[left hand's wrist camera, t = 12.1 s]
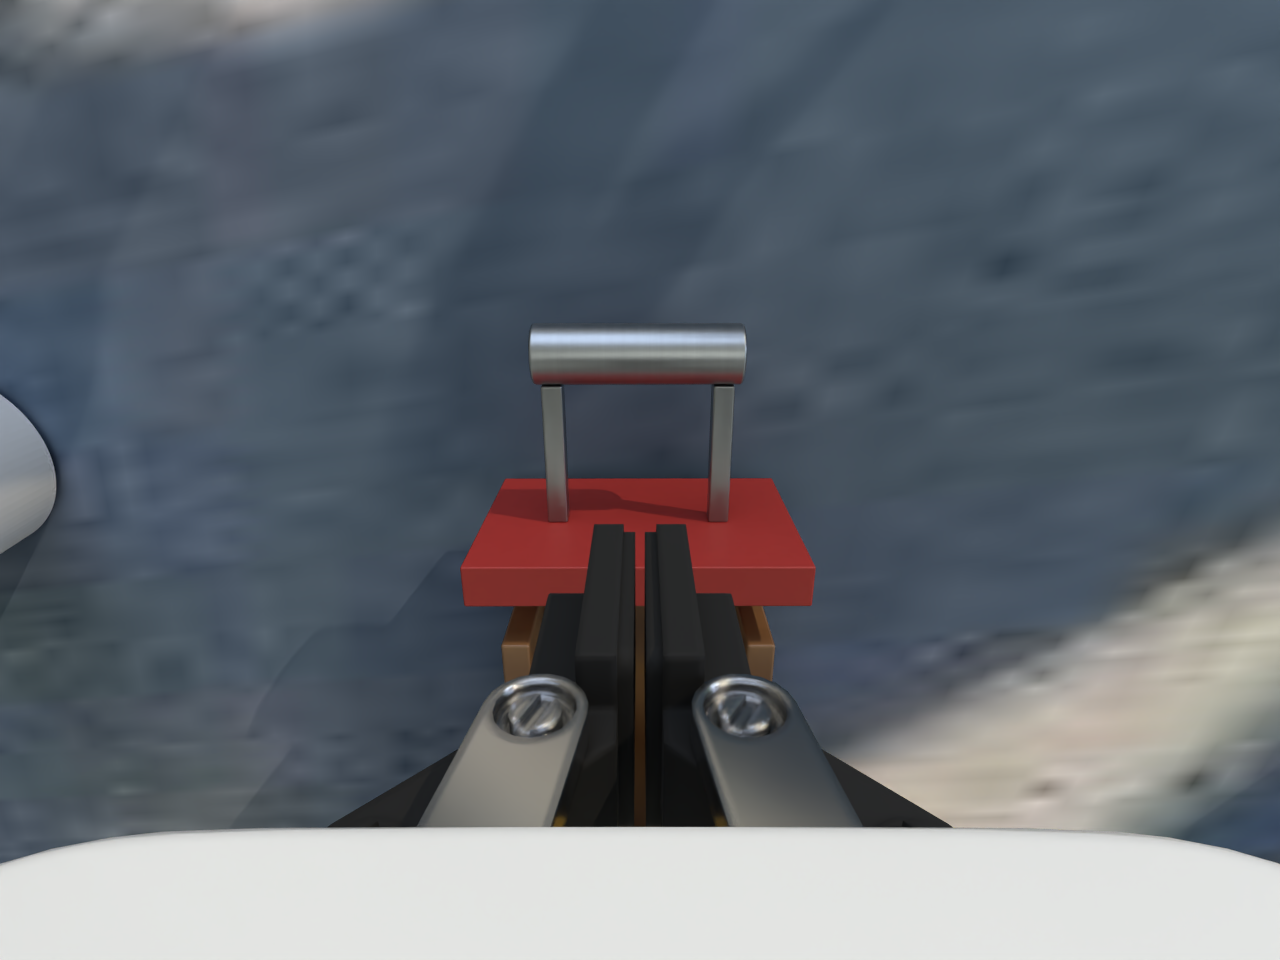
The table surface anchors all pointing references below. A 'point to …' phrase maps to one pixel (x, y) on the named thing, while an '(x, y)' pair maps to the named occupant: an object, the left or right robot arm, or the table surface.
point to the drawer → (637, 502)
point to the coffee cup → (22, 477)
